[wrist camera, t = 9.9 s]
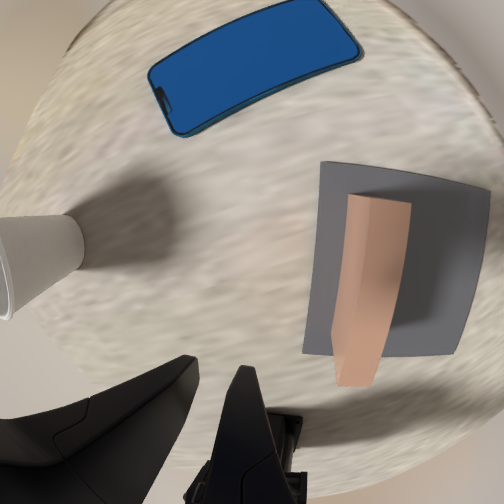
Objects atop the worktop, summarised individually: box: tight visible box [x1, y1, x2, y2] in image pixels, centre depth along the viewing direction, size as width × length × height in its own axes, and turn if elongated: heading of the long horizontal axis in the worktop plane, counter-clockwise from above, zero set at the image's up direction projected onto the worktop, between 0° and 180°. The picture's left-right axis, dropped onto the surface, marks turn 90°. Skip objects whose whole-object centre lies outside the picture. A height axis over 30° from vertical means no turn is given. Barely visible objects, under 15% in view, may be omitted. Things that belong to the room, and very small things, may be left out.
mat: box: [302, 162, 491, 357], centre depth 17 cm, size 14×14×1 cm
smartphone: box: [147, 0, 361, 138], centre depth 15 cm, size 7×1×15 cm
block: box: [331, 194, 412, 386], centre depth 15 cm, size 10×2×6 cm, turn 178°
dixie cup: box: [0, 215, 85, 321], centre depth 17 cm, size 8×8×10 cm
